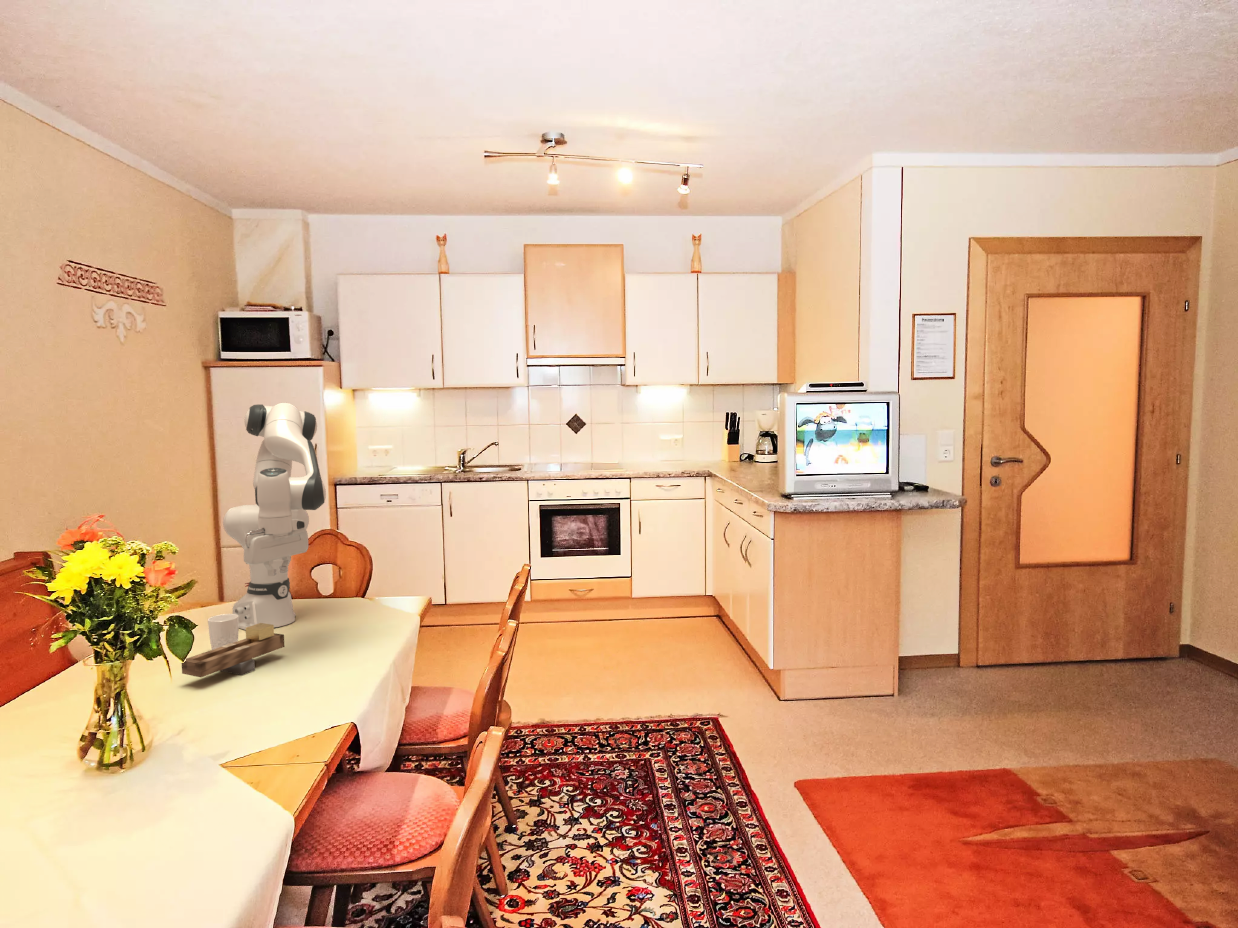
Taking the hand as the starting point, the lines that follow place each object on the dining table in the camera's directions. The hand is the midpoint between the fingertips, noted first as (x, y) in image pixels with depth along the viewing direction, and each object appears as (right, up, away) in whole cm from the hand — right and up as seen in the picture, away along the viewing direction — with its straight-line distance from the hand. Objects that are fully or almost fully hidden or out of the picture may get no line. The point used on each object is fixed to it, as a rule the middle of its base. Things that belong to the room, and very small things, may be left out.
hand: (278, 574), depth 217 cm
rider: (-3, -19, -5) cm, 20 cm away
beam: (-6, -24, -12) cm, 28 cm away
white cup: (-17, -23, +4) cm, 29 cm away
